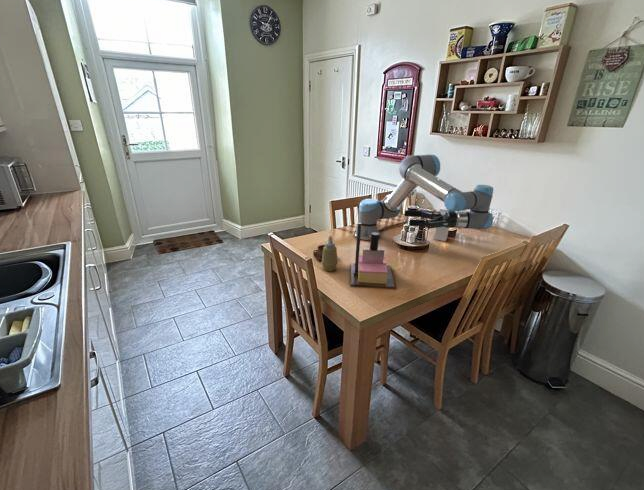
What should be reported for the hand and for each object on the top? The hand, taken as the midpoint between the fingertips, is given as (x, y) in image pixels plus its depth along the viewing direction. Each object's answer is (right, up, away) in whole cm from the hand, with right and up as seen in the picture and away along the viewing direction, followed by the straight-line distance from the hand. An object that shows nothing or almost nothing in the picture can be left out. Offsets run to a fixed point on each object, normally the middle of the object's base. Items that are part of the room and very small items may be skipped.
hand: (406, 217), depth 149 cm
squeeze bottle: (-35, -24, +18) cm, 46 cm away
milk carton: (+37, -7, +59) cm, 70 cm away
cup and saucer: (-37, -19, +30) cm, 51 cm away
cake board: (-14, -27, +12) cm, 33 cm away
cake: (-14, -27, +12) cm, 33 cm away
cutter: (-14, -21, +8) cm, 27 cm away
